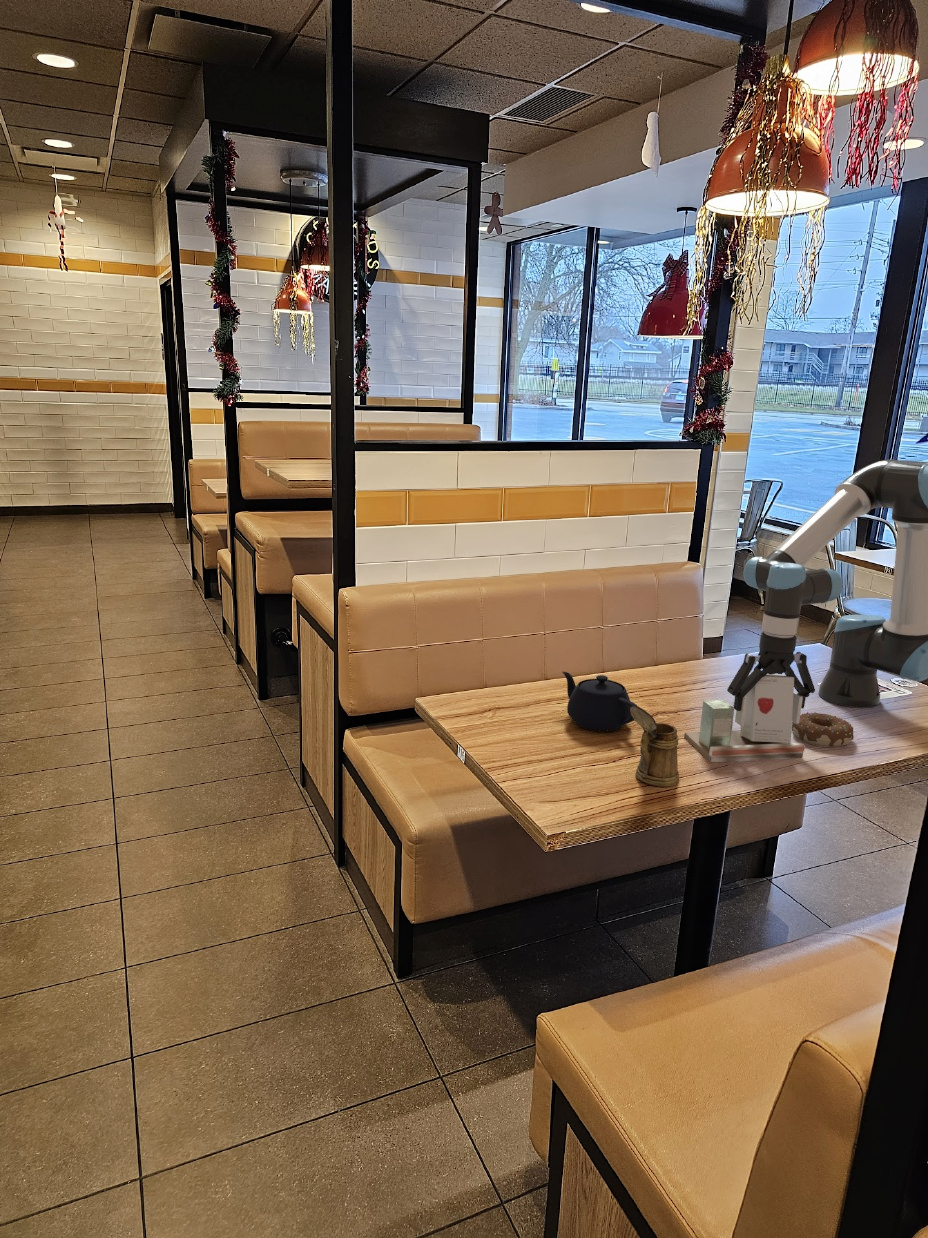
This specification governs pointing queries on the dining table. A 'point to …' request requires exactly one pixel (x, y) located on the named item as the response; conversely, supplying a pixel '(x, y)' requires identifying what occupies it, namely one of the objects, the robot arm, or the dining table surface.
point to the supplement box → (769, 710)
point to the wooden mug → (656, 751)
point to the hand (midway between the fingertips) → (766, 722)
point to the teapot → (598, 703)
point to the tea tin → (716, 723)
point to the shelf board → (746, 749)
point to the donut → (823, 730)
